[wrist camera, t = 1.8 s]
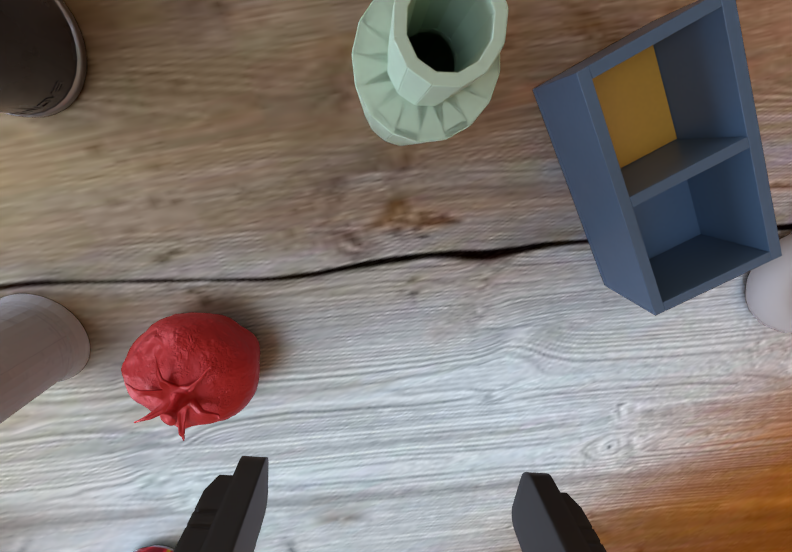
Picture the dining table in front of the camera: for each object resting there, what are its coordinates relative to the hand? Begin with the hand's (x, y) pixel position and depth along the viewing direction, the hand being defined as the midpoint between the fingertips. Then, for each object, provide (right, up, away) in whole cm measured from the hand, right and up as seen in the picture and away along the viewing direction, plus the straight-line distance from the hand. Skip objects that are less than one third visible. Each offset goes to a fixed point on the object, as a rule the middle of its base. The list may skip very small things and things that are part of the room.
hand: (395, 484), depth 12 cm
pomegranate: (-17, 0, +23) cm, 28 cm away
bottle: (+1, +20, +17) cm, 26 cm away
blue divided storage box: (+19, +15, +19) cm, 31 cm away
